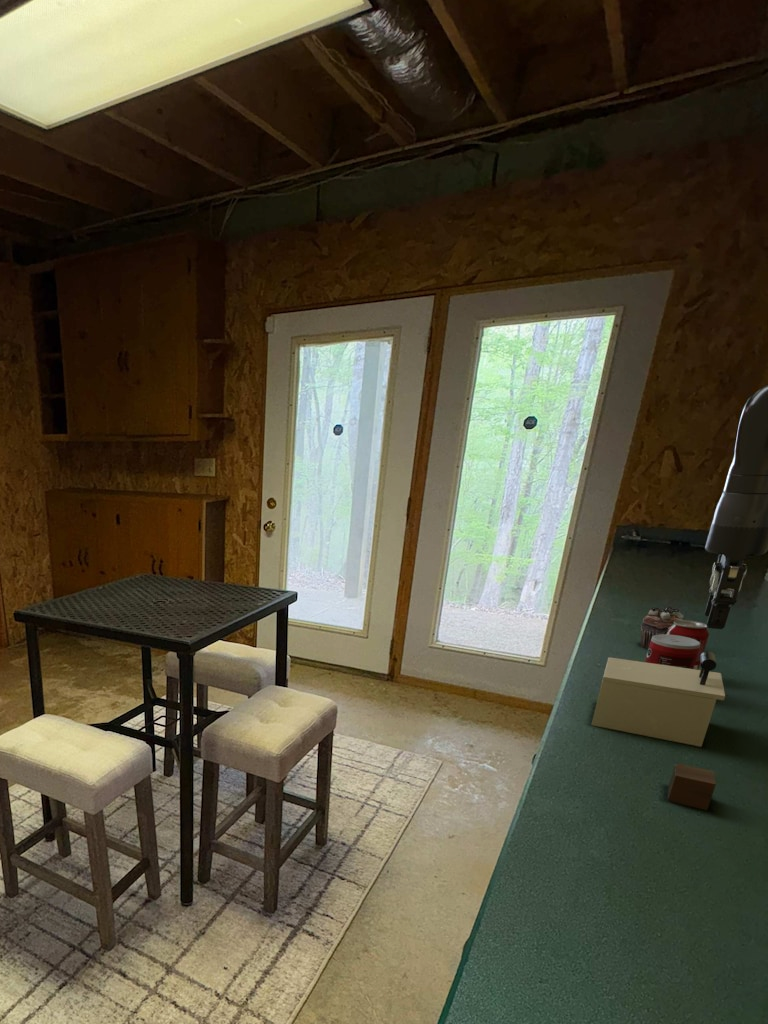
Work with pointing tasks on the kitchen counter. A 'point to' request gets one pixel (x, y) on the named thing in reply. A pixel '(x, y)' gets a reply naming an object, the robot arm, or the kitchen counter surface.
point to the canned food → (673, 651)
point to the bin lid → (668, 676)
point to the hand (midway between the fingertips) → (713, 622)
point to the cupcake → (658, 623)
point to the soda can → (691, 634)
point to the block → (691, 786)
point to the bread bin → (653, 713)
